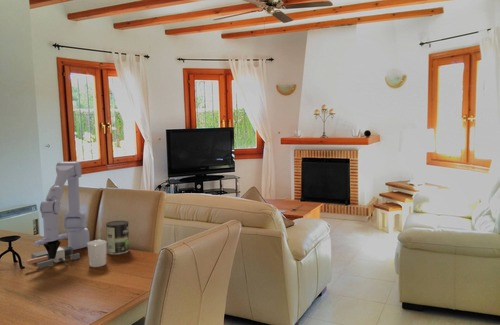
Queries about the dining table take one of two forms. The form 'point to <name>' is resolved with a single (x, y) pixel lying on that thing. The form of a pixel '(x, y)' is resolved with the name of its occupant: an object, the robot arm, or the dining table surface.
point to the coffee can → (117, 237)
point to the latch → (37, 259)
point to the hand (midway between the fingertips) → (52, 258)
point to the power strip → (49, 262)
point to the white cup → (97, 253)
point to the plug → (60, 256)
